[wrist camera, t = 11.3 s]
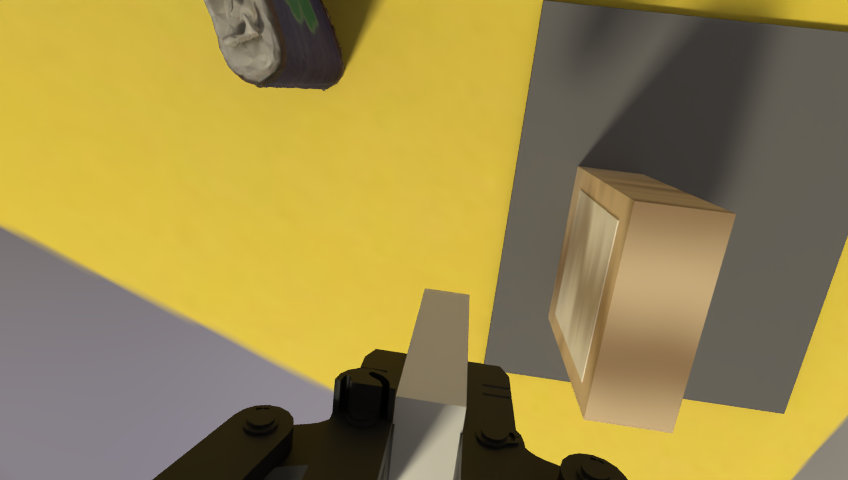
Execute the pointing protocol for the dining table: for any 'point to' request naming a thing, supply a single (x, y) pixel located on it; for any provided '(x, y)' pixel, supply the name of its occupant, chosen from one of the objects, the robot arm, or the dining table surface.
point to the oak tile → (634, 294)
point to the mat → (687, 178)
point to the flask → (278, 42)
